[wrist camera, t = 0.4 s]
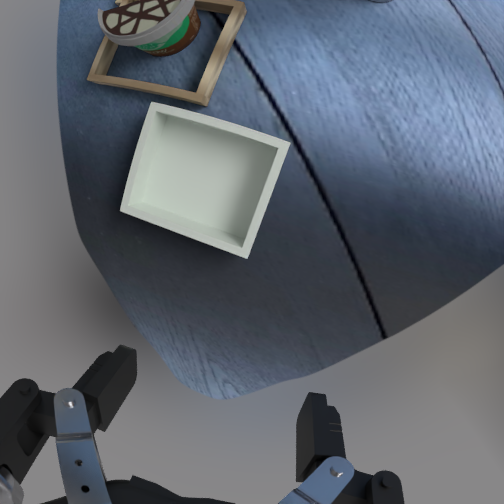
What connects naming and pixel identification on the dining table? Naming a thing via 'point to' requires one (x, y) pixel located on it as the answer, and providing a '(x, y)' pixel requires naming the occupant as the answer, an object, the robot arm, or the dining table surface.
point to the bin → (203, 177)
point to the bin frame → (221, 3)
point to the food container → (152, 25)
